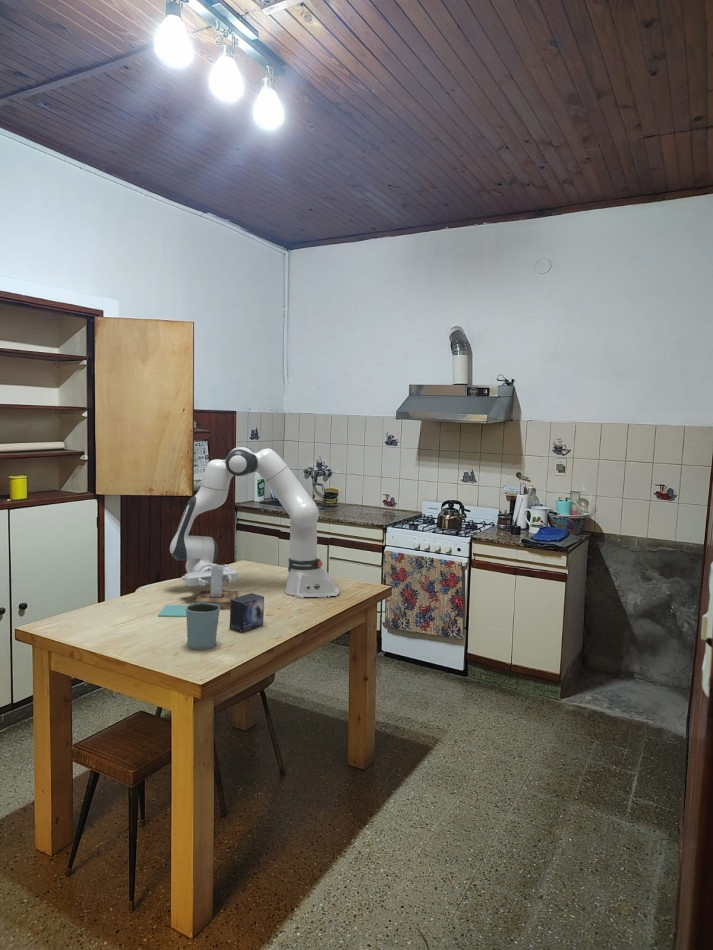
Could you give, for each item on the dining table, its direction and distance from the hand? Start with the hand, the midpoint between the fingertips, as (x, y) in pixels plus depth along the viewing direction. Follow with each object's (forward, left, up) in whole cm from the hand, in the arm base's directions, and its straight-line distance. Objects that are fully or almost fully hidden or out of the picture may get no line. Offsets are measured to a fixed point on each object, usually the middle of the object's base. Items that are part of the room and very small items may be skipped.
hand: (218, 582), depth 230 cm
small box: (-14, +25, -9) cm, 30 cm away
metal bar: (0, -1, -9) cm, 9 cm away
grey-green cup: (-2, +41, -9) cm, 42 cm away
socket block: (0, -1, -9) cm, 9 cm away
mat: (+12, +9, -9) cm, 18 cm away
